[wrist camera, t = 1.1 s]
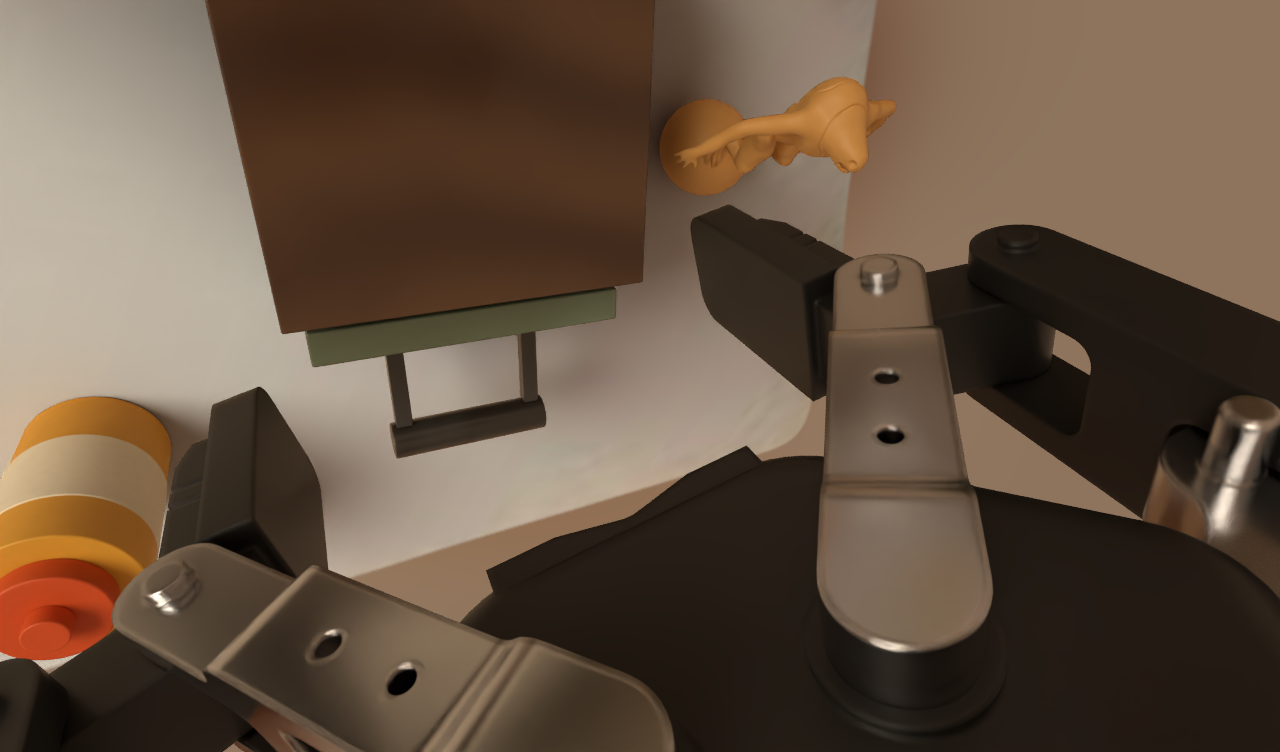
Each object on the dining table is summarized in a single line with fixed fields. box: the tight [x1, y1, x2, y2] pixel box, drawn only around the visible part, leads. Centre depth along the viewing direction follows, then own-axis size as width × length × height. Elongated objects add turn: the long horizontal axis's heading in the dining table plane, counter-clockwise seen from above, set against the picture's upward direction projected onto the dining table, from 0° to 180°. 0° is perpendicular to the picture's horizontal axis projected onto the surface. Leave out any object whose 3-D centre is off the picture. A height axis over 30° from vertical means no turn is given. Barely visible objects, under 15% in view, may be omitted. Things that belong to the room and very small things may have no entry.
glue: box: [0, 397, 171, 660], centre depth 25 cm, size 5×5×10 cm
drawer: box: [305, 287, 616, 459], centre depth 26 cm, size 18×10×7 cm, turn 177°
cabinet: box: [205, 0, 655, 334], centre depth 23 cm, size 14×12×9 cm
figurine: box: [660, 77, 896, 195], centre depth 28 cm, size 8×6×12 cm
